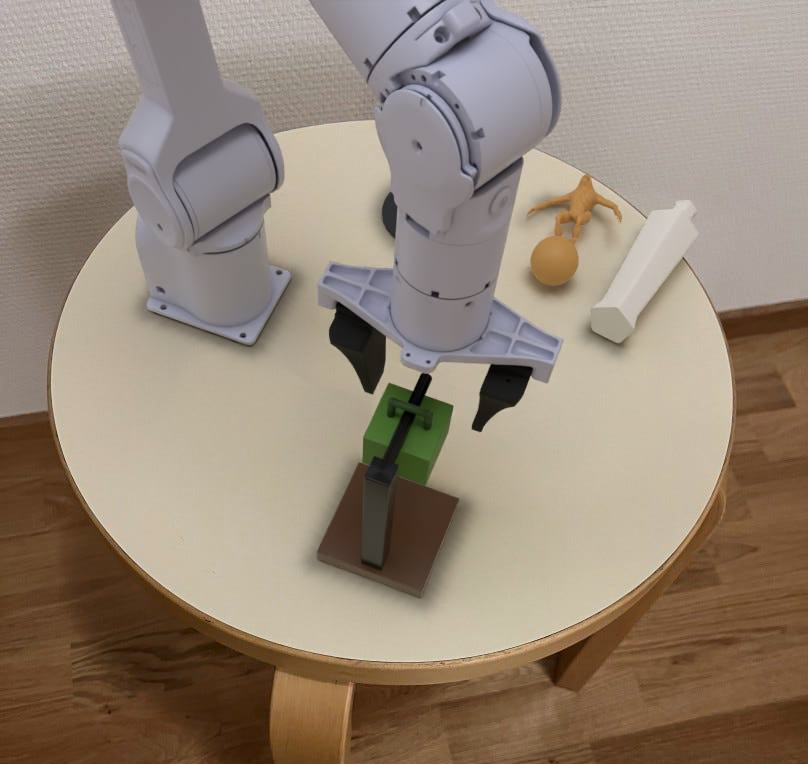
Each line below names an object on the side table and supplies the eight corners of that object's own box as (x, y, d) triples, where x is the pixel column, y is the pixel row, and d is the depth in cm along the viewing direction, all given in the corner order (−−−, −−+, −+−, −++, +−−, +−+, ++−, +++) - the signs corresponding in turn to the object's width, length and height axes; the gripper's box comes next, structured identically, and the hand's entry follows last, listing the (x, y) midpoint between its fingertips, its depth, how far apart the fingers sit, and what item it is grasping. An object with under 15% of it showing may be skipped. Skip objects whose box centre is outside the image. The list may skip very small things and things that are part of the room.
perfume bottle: (644, 347, 73) (716, 231, 79) (628, 303, 70) (704, 186, 76) (595, 346, 76) (668, 234, 82) (578, 305, 73) (655, 192, 79)
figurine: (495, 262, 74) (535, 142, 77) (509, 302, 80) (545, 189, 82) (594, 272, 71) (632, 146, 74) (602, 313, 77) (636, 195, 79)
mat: (368, 233, 78) (368, 230, 78) (401, 171, 81) (401, 167, 81) (454, 262, 77) (455, 259, 77) (484, 198, 80) (485, 195, 80)
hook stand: (316, 559, 65) (310, 464, 52) (363, 458, 68) (367, 347, 56) (420, 598, 64) (438, 511, 51) (462, 494, 68) (488, 390, 55)
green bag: (361, 463, 58) (363, 422, 54) (386, 409, 60) (389, 366, 55) (425, 486, 58) (432, 447, 53) (448, 432, 59) (457, 389, 55)
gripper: (291, 268, 47) (303, 411, 59) (555, 358, 46) (511, 485, 58) (343, 177, 50) (343, 331, 62) (592, 259, 48) (542, 400, 61)
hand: (426, 400), depth 60 cm, fingers open, 7 cm apart
